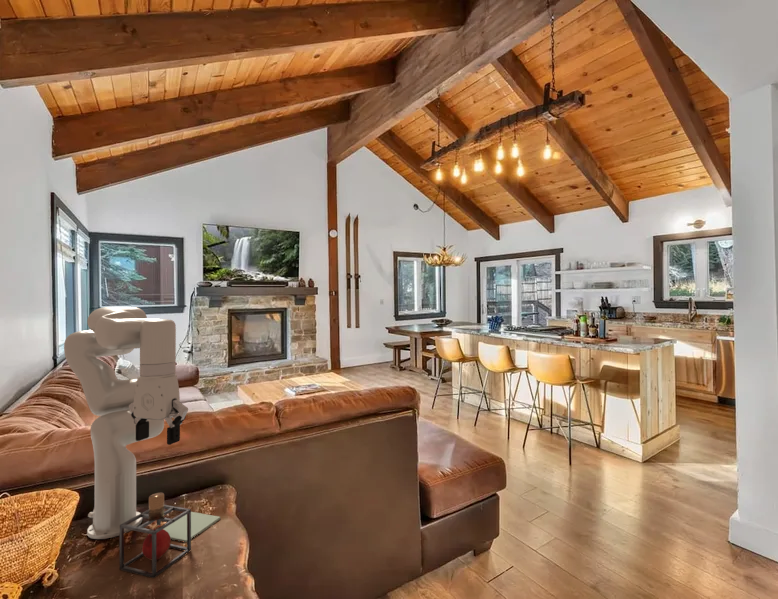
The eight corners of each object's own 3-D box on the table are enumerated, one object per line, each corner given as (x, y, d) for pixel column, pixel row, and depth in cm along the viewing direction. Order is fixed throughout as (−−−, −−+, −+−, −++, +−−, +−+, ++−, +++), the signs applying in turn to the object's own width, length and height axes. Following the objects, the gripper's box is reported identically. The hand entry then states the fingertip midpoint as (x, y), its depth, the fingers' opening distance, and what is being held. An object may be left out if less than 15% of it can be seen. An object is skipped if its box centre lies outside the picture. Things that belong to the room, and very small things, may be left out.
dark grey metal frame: (119, 569, 90) (119, 503, 90) (158, 543, 100) (158, 484, 100) (153, 578, 86) (153, 509, 87) (190, 550, 96) (190, 488, 97)
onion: (157, 569, 90) (157, 533, 90) (136, 566, 91) (136, 531, 91) (175, 553, 95) (175, 520, 96) (155, 551, 96) (155, 518, 97)
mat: (151, 535, 103) (151, 533, 103) (187, 513, 115) (187, 511, 115) (186, 542, 100) (186, 540, 100) (220, 518, 111) (220, 516, 111)
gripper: (116, 371, 94) (116, 442, 93) (173, 373, 88) (172, 449, 88) (144, 366, 101) (144, 433, 100) (198, 369, 95) (198, 439, 95)
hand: (157, 441), depth 94 cm, fingers open, 9 cm apart
